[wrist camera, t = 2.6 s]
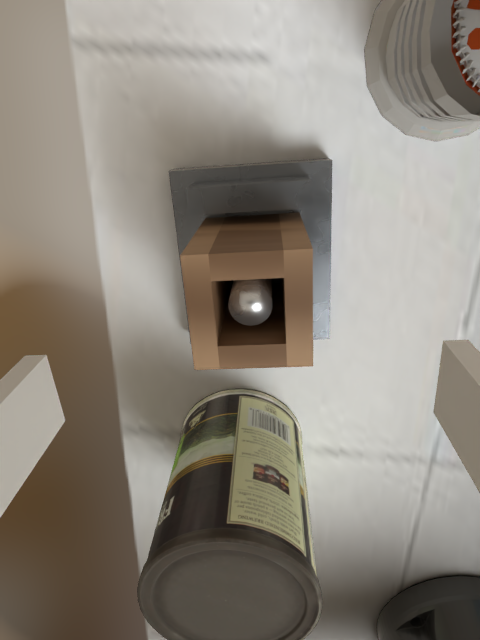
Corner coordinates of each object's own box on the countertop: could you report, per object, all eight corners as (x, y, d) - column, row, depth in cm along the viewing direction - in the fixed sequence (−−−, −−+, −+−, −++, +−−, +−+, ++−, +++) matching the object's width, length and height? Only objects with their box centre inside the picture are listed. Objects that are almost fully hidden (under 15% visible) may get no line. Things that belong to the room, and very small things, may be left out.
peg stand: (327, 329, 33) (348, 403, 24) (193, 334, 33) (168, 408, 25) (328, 158, 28) (356, 172, 19) (173, 169, 29) (132, 187, 20)
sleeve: (300, 300, 30) (313, 366, 22) (214, 304, 31) (194, 369, 22) (299, 212, 28) (312, 248, 20) (205, 217, 28) (180, 255, 20)
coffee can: (182, 481, 39) (140, 653, 27) (181, 383, 35) (131, 531, 22) (297, 490, 39) (311, 669, 26) (309, 392, 35) (334, 548, 22)
